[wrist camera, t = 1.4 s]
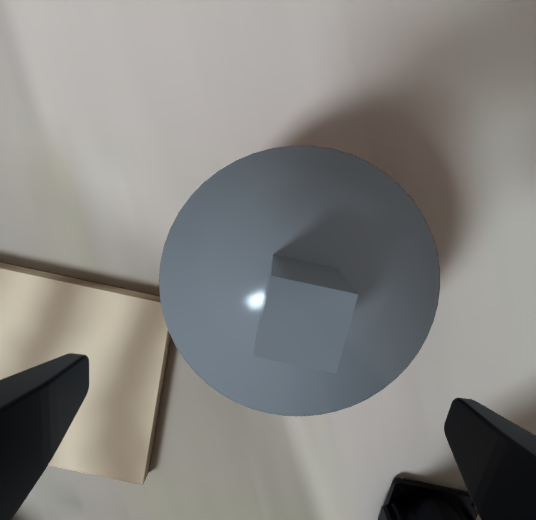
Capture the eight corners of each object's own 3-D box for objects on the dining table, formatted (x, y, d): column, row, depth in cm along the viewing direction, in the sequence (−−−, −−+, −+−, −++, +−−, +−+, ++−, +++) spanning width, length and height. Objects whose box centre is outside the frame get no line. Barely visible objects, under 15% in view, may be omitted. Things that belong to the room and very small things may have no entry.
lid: (466, 182, 15) (560, 175, 10) (387, 425, 17) (429, 516, 12) (188, 121, 15) (144, 83, 10) (149, 375, 17) (98, 447, 12)
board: (176, 300, 22) (171, 304, 21) (148, 473, 24) (142, 484, 23) (-60, 249, 22) (-76, 252, 21) (-62, 429, 24) (-77, 439, 23)
